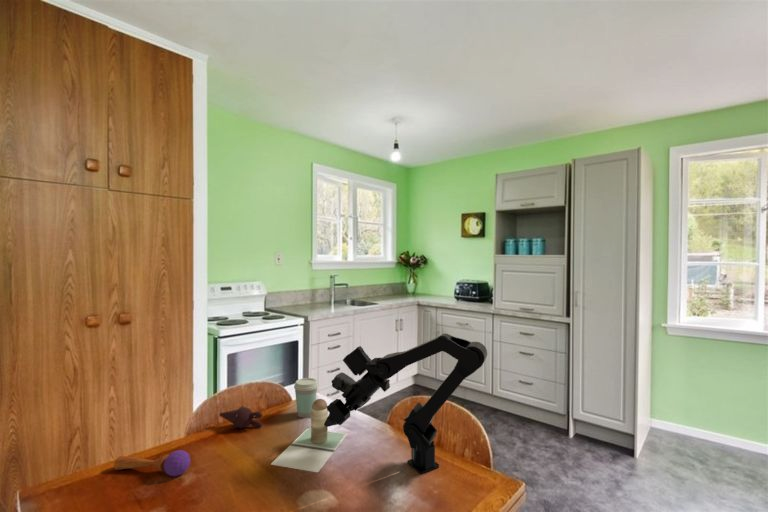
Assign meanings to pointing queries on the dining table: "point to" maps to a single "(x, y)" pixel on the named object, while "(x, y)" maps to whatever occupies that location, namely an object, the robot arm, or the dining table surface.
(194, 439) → the dining table surface
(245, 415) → the icecream
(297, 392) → the coffee cup
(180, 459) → the kendama
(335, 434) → the board
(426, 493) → the dining table surface
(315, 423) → the wooden pin
